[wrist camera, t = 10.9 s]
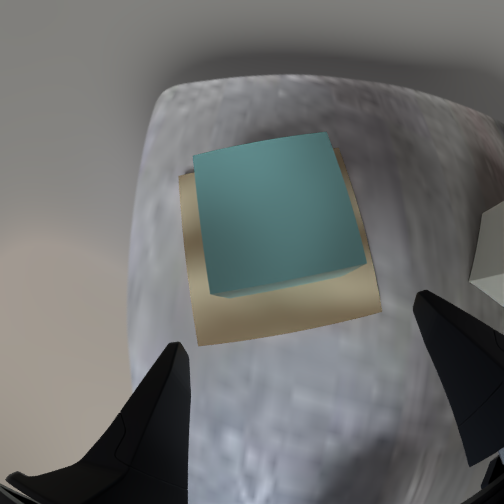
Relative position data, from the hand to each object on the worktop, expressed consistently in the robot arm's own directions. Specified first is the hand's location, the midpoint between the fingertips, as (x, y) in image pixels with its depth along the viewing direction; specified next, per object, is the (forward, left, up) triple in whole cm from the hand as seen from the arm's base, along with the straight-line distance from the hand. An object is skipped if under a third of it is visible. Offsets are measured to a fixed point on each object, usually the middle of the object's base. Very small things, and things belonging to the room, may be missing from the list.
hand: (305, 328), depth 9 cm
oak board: (+6, +1, -10) cm, 11 cm away
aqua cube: (+6, +1, -9) cm, 10 cm away
